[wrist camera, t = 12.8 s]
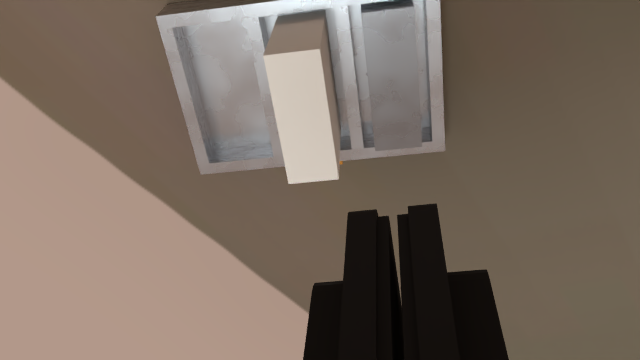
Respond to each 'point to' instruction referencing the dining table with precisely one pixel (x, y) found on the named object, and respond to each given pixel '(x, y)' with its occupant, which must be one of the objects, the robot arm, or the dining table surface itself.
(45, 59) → the dining table surface
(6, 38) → the dining table surface
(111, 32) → the dining table surface
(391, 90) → the rack
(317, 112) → the block
